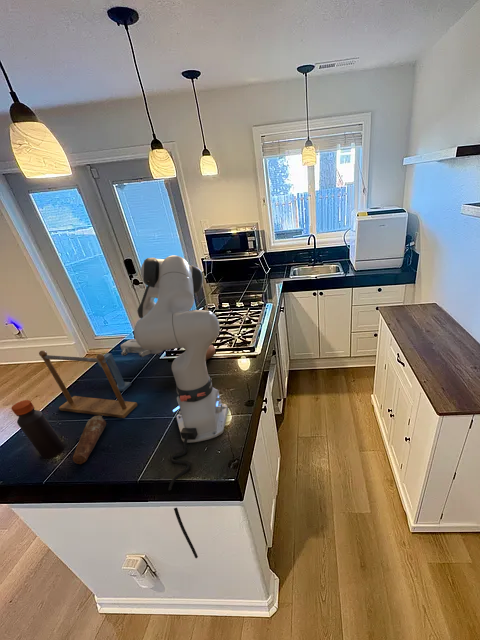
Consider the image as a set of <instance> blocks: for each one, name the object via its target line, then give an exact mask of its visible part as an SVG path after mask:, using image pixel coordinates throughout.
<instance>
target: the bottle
mask: <svg viewBox="0 0 480 640" xmlns="http://www.w3.org/2000/svg"><path fill="white" fill-rule="evenodd" d="M10 410H11V411H12V412H13V413H14V415H15V416H16V417H18V419H17V420H16V423H17V425H18V426H19V428H20V429H21V431H22V432H23V433H24V435H25V437H27V439H28V440H29V442H30V443H31V444H32V446H33V447H34V448H35V450H36V451H37V453H39V455H40V456H41V458H43V459H51V458H55V457H57V456H58V455H60V454H61V453H62V452H63V451H64V449H65V444H64V443H63V441H62V440H61V438H60V437H59V435H58V434H57V432H56V431H55V430H54V428H53V426H52V425H51V424H50V422H49V421H48V419H47V418H46V416H45V415H44V413H43V411H42V410H38V409H35V406H34V405H33V403H32V401H31V400H29V399H23V400H20V401H18V402H16V403H14V404H13V405H12V406H11V408H10Z"/></svg>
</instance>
